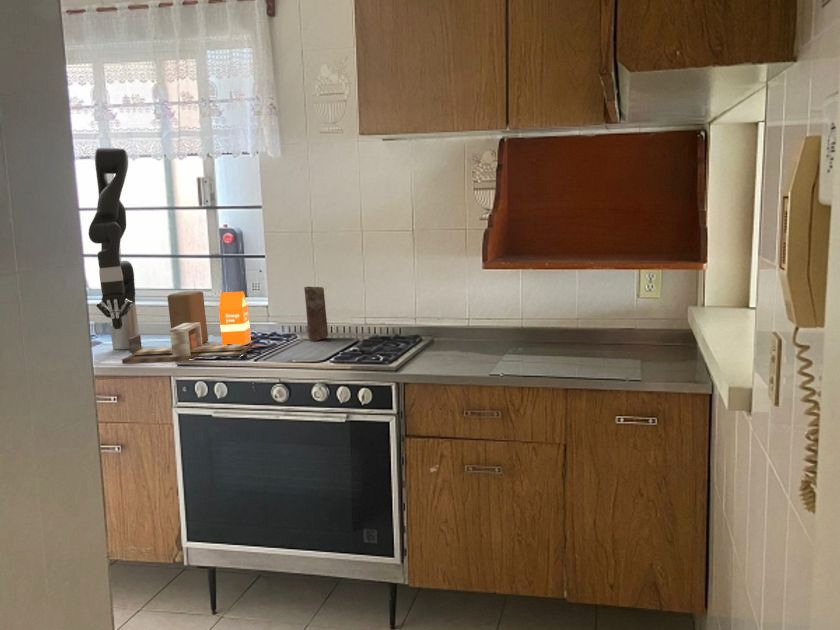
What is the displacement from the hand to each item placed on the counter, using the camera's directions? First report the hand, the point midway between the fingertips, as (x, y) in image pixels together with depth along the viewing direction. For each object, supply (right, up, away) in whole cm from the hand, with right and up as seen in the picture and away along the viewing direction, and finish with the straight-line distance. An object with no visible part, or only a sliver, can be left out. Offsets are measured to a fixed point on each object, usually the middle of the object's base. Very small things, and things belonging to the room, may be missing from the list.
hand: (118, 328), depth 281 cm
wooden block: (+19, -7, +23) cm, 31 cm away
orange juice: (+38, -7, +16) cm, 42 cm away
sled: (+25, -8, -1) cm, 26 cm away
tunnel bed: (+25, -10, 0) cm, 27 cm away
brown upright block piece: (+68, -5, +17) cm, 71 cm away
